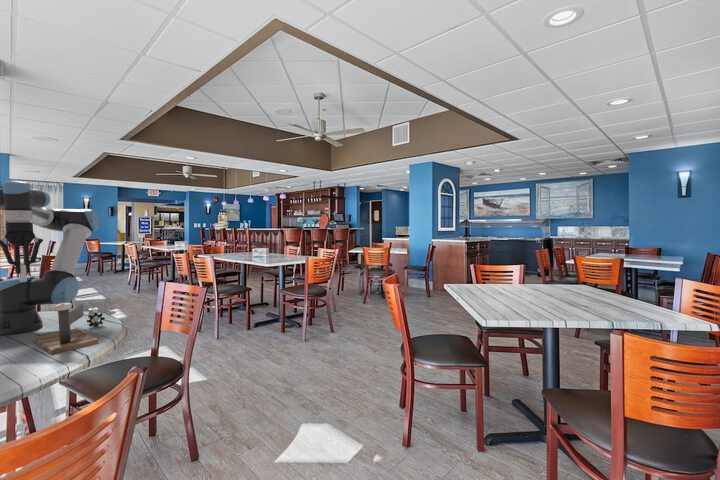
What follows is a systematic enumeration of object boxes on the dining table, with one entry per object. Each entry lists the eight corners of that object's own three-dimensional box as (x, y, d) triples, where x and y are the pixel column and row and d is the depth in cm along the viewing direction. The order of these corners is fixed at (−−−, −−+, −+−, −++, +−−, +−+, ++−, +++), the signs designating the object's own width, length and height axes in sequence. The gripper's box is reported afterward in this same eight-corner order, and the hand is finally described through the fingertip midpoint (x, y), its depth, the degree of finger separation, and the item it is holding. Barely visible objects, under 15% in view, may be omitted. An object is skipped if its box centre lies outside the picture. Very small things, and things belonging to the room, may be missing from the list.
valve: (84, 322, 161) (87, 328, 152) (83, 309, 160) (86, 314, 152) (101, 319, 165) (105, 325, 157) (101, 306, 165) (104, 311, 156)
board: (33, 341, 136) (33, 336, 136) (77, 331, 148) (76, 327, 148) (52, 354, 122) (51, 349, 122) (98, 342, 134) (98, 338, 134)
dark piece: (75, 330, 145) (73, 295, 144) (89, 328, 146) (87, 294, 145) (50, 347, 124) (47, 307, 123) (66, 346, 126) (64, 306, 125)
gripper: (-3, 221, 125) (1, 285, 127) (44, 221, 136) (48, 279, 137) (-7, 221, 129) (-3, 283, 131) (39, 221, 140) (42, 278, 142)
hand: (23, 281), depth 134 cm, fingers closed
